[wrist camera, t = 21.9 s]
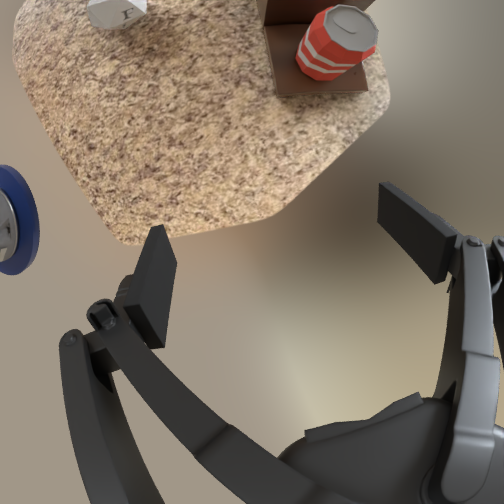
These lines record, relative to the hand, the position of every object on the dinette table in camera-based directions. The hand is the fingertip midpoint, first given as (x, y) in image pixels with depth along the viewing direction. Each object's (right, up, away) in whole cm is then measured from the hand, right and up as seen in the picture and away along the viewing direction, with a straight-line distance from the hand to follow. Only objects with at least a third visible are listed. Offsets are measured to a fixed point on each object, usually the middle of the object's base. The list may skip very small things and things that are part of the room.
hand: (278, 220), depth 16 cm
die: (-19, +33, +10) cm, 39 cm away
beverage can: (+7, +22, +12) cm, 26 cm away
